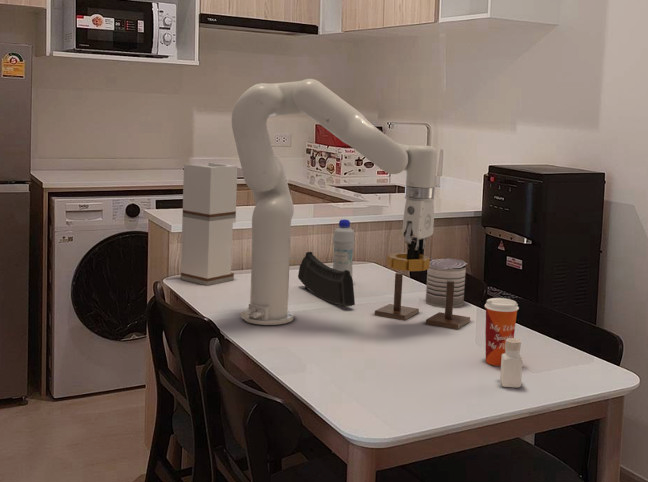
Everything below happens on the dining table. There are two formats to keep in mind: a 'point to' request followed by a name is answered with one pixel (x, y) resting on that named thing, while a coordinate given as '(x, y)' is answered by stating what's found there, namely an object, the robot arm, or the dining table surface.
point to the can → (445, 281)
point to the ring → (407, 262)
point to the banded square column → (208, 222)
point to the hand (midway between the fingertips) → (414, 263)
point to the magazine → (326, 281)
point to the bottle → (343, 247)
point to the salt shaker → (511, 364)
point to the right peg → (448, 312)
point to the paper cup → (499, 327)
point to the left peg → (397, 304)
